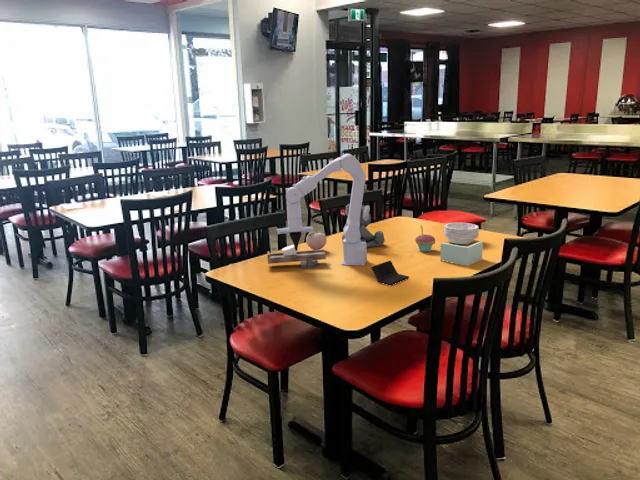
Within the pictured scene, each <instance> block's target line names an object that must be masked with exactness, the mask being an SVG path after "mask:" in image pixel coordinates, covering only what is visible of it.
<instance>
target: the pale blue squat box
mask: <svg viewBox="0 0 640 480" xmlns="http://www.w3.org/2000/svg"><path fill="white" fill-rule="evenodd" d="M483 244H484V241H483V240H482V241H481V240H480V241H478V242H475V243H473V244H469V245H467V246H466V245H464V246H463V245H459V244H453V243H447V242H440V255H439V256H440V259H439V260H444V261H448V262H453V263H457V264H456V265H458V264H462V265H461V266H463V265H466V266H465V267H468V265H469V266H471V265H473V264H475V263H477V262H479V261H482V260H483V249H484V248H483V246H484V245H483ZM481 259H482V260H481ZM478 260H479V261H478ZM476 261H477V262H476ZM448 262H447V263H448ZM474 262H475V263H474ZM453 263H452V264H453ZM472 263H473V264H472ZM470 264H471V265H470Z"/></svg>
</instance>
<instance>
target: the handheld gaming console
mask: <svg viewBox="0 0 640 480" xmlns="http://www.w3.org/2000/svg"><path fill="white" fill-rule="evenodd" d="M370 269H371V270H372V273H373V274H374V276H375V278H376V280H377V283H379V282H380V283H379V284H382V283H384V284H383V285H386V284H387V285H386V286H389V285H391V286H393V284H394V285H396V284H399V283H401V282H404V281H406V280H405V279H407V280H409V279H410V276H409V275H405V274H400V273H398V272H397V269H396V268H395V266H394V264H393V261H392V260H388V261H384V262H382V263H378V264H376V265H373V266H371V268H370ZM408 278H409V279H408ZM403 280H404V281H403ZM400 281H401V282H400ZM398 282H399V283H398ZM395 283H396V284H395Z"/></svg>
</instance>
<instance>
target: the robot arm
mask: <svg viewBox="0 0 640 480" xmlns="http://www.w3.org/2000/svg"><path fill="white" fill-rule="evenodd" d="M342 170H343V171H345V172H346V173H348V174H349V175H350V176H351V177H352V179H353V180H352V186H351V187H352V188H351V193H350V199H349V200H350V202H349V204H350V207H349V214H348V216H347V218H346V223H345V225H344V227H343V229H342V232H343V235H345V239H344V240H343V241H342V247H343V253H342V254H343V260H342V262H341V263H340V265H343V266H345V265H346V266H365V264H366V263H367V261H368V251H367V250H368V249H367V248H368V247H367V245H366V242H362V241H361V240H360V237H361V234H360V231H359V227H360V213H361V206H362V205H363V197H364V191H365V186H366V176H367V175H366V173H365V171H364V169H363V167H362V165H361V163H360V161H359V160H358V159H357V157H355V156H354V155H352V154H351V153H347V152H346V153H344V154H342V155H341V156H339V157H337V158H335V159H333V160H331V161H330V162H329V163H328V164H327V165H325V166H324V167H323V168H321V169H320V170H319V171H317V172H316V173H315V174H314V175H309V174H307V175H306V176H305V175H304V176H302V179H301V180H300V181H299V182H297V183H293V184H292V186H291V187H288V189H287V190H286V191H285V192H286V193H285V198H286V216H287V219H286V220H287V227H282V228H276V234H277V235H282V234H285V235H286V234H289V237H290V239H291V241H292V242H293V245H294V246H295V250H296V251H298V248H299V242H300V240H301V237H302V233H310V232H314V226H303V221H302V219H303V218H302V206H301V198H302V197H305V196H307V194H309V193H310V192H312V191H313V190H315V189H316V188H317V186H318V183H319V182H320V181H322V180H323V179H325V178H326V177H328V176H330V175H331V174H332V173H334V172H342Z"/></svg>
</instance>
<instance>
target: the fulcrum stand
mask: <svg viewBox="0 0 640 480" xmlns="http://www.w3.org/2000/svg"><path fill="white" fill-rule="evenodd" d="M318 261H319V260H312V258H307V261H299V263H300V267H301V269H302V270H304V269H317V268H320V265H319V262H318Z"/></svg>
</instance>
